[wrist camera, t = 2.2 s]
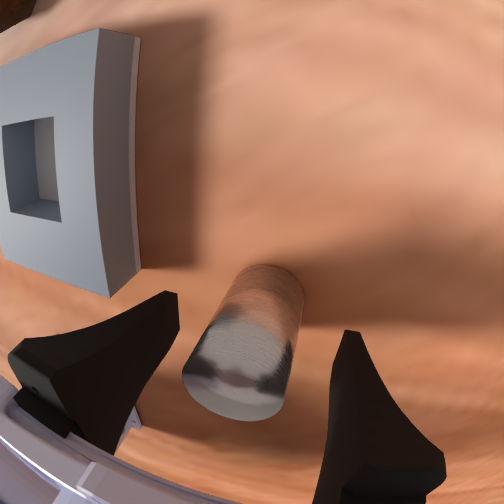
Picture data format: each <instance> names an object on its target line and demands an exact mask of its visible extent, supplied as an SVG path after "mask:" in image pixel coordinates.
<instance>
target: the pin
mask: <svg viewBox="0 0 504 504" xmlns="http://www.w3.org/2000/svg"><path fill="white" fill-rule="evenodd" d="M303 307H304V292H303V289H302V287H301V285H300V283H299V282H298V280H297V279H296V278H295V277H294V276H293V275H292V274H291V273H289V272H288V271H286V270H284V269H282V268H280V267H278V266H274V265H268V264H259V265H254V266H250V267H248V268H246V269H244V270H243V271H241V272H240V273H239V274H238V275H237V277H236V278H235V280H234V282H233V283H232V285H231V287H230V288H229V290H228V292H227V294H226V295H225V297H224V299H223V300H222V302H221V304H220V306H219V307H218V309H217V311H216V312H215V314H214V316H213V317H212V319H211V321H210V323H209V324H208V326H207V328H206V329H205V331H204V333H203V335H202V336H201V338H200V340H199V341H198V343H197V345H196V347H195V348H194V350H193V352H192V353H191V355H190V357H189V359H188V360H187V362H186V364H185V365H184V368H183V371H182V380H183V383H184V386H185V388H186V389H187V391H188V392H189V394H190V395H191V396H192V397H193V398H194V399H195V400H196V401H197V402H198V403H199V404H201V405H202V406H203V407H205V408H206V409H208V410H210V411H212V412H214V413H216V414H218V415H221V416H223V417H226V418H230V419H234V420H240V421H259V420H264V419H267V418H270V417H272V416H274V415H275V414H277V413H278V412H279V411H280V409H281V408H282V406H283V403H284V399H285V395H286V390H287V386H288V381H289V377H290V372H291V367H292V363H293V358H294V353H295V348H296V343H297V338H298V333H299V328H300V323H301V318H302V312H303Z"/></svg>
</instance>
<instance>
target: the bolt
mask: <svg viewBox="0 0 504 504" xmlns="http://www.w3.org/2000/svg"><path fill="white" fill-rule="evenodd" d="M35 3H36V0H0V33H2V32H3V31H5V30H7V29H9V28H10V27H12V26H14V25H16V24H18V23H19V22H21V21H23V20H25V19H26V18H28V17H29V16H30V14H31V12H32V10H33V8H34V6H35Z"/></svg>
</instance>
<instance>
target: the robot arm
mask: <svg viewBox="0 0 504 504" xmlns="http://www.w3.org/2000/svg"><path fill="white" fill-rule="evenodd" d="M179 330H180V325H179V311H178V296H177V293H173V292H169V291H163V292H161V293H159V294H157V295H155V296H153V297H151V298H150V299H148V300H146V301H144V302H142V303H140V304H138V305H137V306H135V307H133V308H131V309H129V310H127V311H125V312H123V313H121V314H119V315H117V316H114V317H112V318H110V319H108V320H106V321H103V322H101V323H98V324H95V325H92V326H90V327H87V328H83V329H80V330H76V331H72V332H69V333H64V334H59V335H53V336H47V337H37V338H25V339H24V340H23V341H21V342H20V343H19V344H18V345H17V346H16V347H15V348H14V349H13V350H12V351H11V352H10V353H9V354H8V362H9V364H10V366H11V368H12V370H13V372H14V374H15V375H16V377H17V379H18V381H19V382H20V384H21V385H22V388H21V389H20V390H19V391H18V389H17V388H16V387H15V386H14V385H12V384H11V383H10V382H9V381H8V380H6V379H5V378H4V377H3V376H0V504H242V503H238V502H234V501H231V500H227V499H223V498H220V497H216V496H213V495H209V494H206V493H203V492H200V491H197V490H194V489H191V488H188V487H185V486H182V485H179V484H177V483H174V482H171V481H169V480H166V479H164V478H161V477H159V476H156V475H154V474H151V473H149V472H147V471H144V470H142V469H140V468H138V467H135V466H133V465H131V464H129V463H127V462H125V461H123V460H121V459H119V458H117V457H115V456H114V454H115V453H116V451H117V450H118V448H119V446H120V445H121V443H122V441H123V440H124V438H125V437H126V435H127V433H128V432H129V430H130V429H131V427H133V428H136V429H141V427H142V425H141V422H140V420H139V417H138V414H137V411H136V409H135V406H134V405H135V403H136V401H137V399H138V397H139V395H140V393H141V392H142V390H143V388H144V386H145V385H146V383H147V381H148V380H149V379H150V377H151V376H152V374H153V373H154V371H155V370H156V368H157V367H158V366H159V364H160V363H161V361H162V360H163V358H164V357H165V355H166V354H167V352H168V351H169V349H170V348H171V346H172V344H173V342H174V340H175V338H176V336H177V334H178V332H179ZM446 477H447V475H446V464H445V458H444V453H443V452H442V451H441V450H439V449H438V448H437V447H436V446H435V445H434V444H432V443H431V442H430V441H429V440H428V439H427V438H426V437H425V436H424V435H423V434H422V433H421V432H420V431H419V430H418V429H417V428H416V427H415V426H414V425H413V424H412V423H411V422H410V420H409V419H408V418H407V417H406V416H405V414H404V413H403V412H402V411H401V409H400V408H399V407H398V405H397V404H396V403H395V401H394V400H393V398H392V397H391V395H390V393H389V392H388V390H387V388H386V387H385V385H384V383H383V381H382V380H381V378H380V376H379V374H378V372H377V370H376V368H375V366H374V364H373V362H372V360H371V357H370V355H369V353H368V351H367V348H366V346H365V343H364V341H363V339H362V336H361V334H360V332H357V331H351V330H345V331H344V334H343V337H342V340H341V343H340V345H339V348H338V351H337V354H336V357H335V359H334V362H333V366H332V373H331V380H330V392H329V418H328V433H327V441H326V446H325V452H324V457H323V462H322V466H321V471H320V475H319V479H318V483H317V487H316V491H315V495H314V499H313V502H312V504H426V495H427V494H429V493H430V492H431V491H433V490H434V489H436V488H437V487H438V486H440V485H441V484H442V483H443V482H444V481H445V479H446Z"/></svg>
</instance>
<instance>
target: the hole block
mask: <svg viewBox="0 0 504 504" xmlns="http://www.w3.org/2000/svg"><path fill="white" fill-rule="evenodd" d="M140 42H141V38H139V37H135V36H132V35H128V34H124V33H120V32H115V31H111V30H107V29H102V28H98V29H94V30H91V31H87V32H84V33H81V34H78V35H75V36H72V37H69V38H66V39H63V40H60V41H58V42H55V43H52V44H50V45H47V46H45V47H42V48H40V49H37V50H35V51H33V52H30V53H28V54H26V55H24V56H21V57H19V58H17V59H15V60H13V61H11V62H9V63H7V64H5V65H3V66H1V67H0V246H1V250H2V254H3V258H4V259H7V260H9V261H11V262H14V263H16V264H19V265H21V266H23V267H26V268H28V269H31V270H33V271H36V272H38V273H41V274H44V275H46V276H49V277H51V278H54V279H57V280H59V281H62V282H65V283H67V284H70V285H73V286H76V287H79V288H81V289H84V290H87V291H90V292H93V293H96V294H99V295H102V296H105V297H108V298H111V297H112V296H113V295H114V294H115V293H116V292H117V291H118V290H119V289H120V288H122V287H123V286H124V285H125V284H126V283H127V282H128V281H129V280H130V279H131V278H132V277H133V276H135V275H136V274H137V273H138V272H139V271H140V270H141V261H140V250H139V238H138V224H137V207H136V183H135V116H136V92H137V76H138V63H139V52H140Z"/></svg>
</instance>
